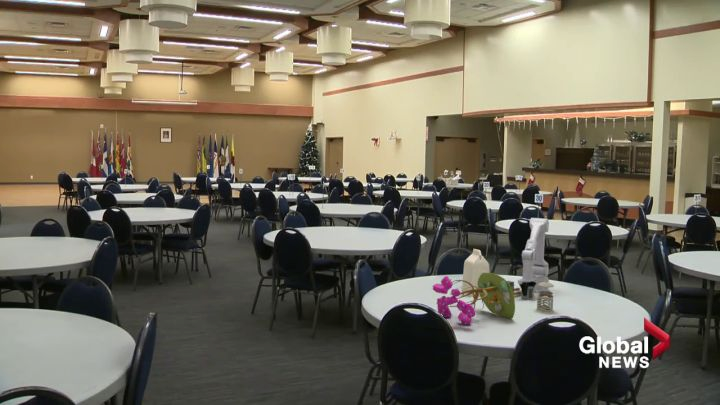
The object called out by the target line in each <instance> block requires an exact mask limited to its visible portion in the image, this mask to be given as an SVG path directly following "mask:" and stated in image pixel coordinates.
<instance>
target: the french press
mask: <svg viewBox="0 0 720 405" xmlns="http://www.w3.org/2000/svg"><path fill="white" fill-rule="evenodd" d="M547 263H548V262H547ZM547 263H546V264H545V266H546V276H547V277H548V275H547V266H548V267H549V263H548V264H547ZM538 286H541V287H548V288H554V287H555V285H554V284H553V283H551V282H550V281H549V282H541V283H539V284H538ZM536 288H538V287H536ZM533 290H535V288H534V289H533ZM537 293H538V294H537V298H536V296H535V293H534V291H532V296H533V299H534V300H535V301H536V309H535V312H536V313H540V314H550V315H551V314H555V310H554V295H553V294H554V293H553V292H552V291H540V292H537Z"/></svg>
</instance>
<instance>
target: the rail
mask: <svg viewBox="0 0 720 405" xmlns="http://www.w3.org/2000/svg"><path fill="white" fill-rule="evenodd" d="M506 281H507V282H508V283H509V284H510V286H511V288H512V290H513V293H514V298H518V297H519V298H520V297H521V287H515V281H513V280H512V281H511V280H506Z"/></svg>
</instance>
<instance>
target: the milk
mask: <svg viewBox="0 0 720 405" xmlns="http://www.w3.org/2000/svg"><path fill="white" fill-rule="evenodd" d="M462 273H463V274H462V280H464V281H467V282H469V283H471V284H472V285H473V286H476V287H477V288H478V279H479V277H480V275H481V274H482V273H490V263H489V262H488V260H487V259H486V258H485V257H484V256H483V255H482V252H481V250H480V249H476V248H473V250H472V253H471V254H470V255H469V256H468V257H467V258H466V259H465V260H464V263H463V272H462ZM461 284H462V287H461V292H463V291H467V290H472V287H471V286H470V285H469V284H468V283H466V282H463V281H462V283H461ZM468 287H470V288H468ZM476 287H474V289H477V288H476ZM466 288H467V289H466ZM464 289H465V290H464ZM462 290H463V291H462ZM465 294H466V295H467V294H468V293H464V295H465ZM474 294H475V292H474ZM469 296H470V298H471V297H473V294H470V295H468V296H467V297H469ZM478 298H481V297H480V295H479V296H478Z"/></svg>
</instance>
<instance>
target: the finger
mask: <svg viewBox="0 0 720 405" xmlns="http://www.w3.org/2000/svg"><path fill="white" fill-rule="evenodd" d="M520 290H521V289H520ZM532 291H534V290H533V287H532V286H528V289H527V295H526V296H523V294H522V290H521V296H520V297H521V299H522V300H523V299H524V300H527V301H529V300H534V298H533V297H534V295H533V296H532Z"/></svg>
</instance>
